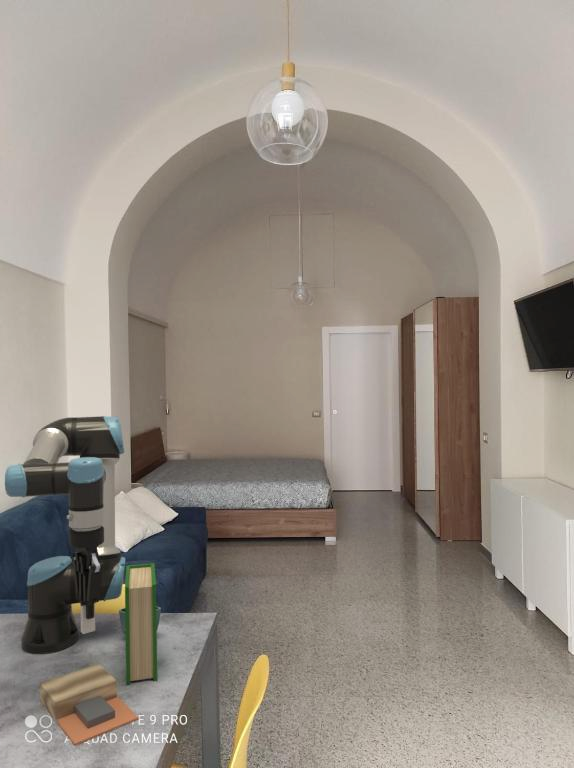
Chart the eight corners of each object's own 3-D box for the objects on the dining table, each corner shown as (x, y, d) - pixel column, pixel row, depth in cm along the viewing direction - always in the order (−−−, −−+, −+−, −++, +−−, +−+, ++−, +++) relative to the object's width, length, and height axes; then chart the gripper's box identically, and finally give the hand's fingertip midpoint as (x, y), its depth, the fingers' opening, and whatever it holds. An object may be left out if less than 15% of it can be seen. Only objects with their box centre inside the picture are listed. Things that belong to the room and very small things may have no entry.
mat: (56, 721, 125) (56, 720, 125) (117, 698, 134) (117, 696, 134) (74, 745, 117) (74, 743, 117) (138, 719, 126) (138, 717, 126)
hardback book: (157, 681, 142) (156, 584, 142) (126, 685, 140) (124, 587, 140) (155, 649, 159) (154, 563, 159) (127, 653, 157) (126, 565, 157)
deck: (39, 700, 134) (39, 683, 134) (98, 679, 143) (98, 663, 143) (55, 720, 126) (55, 702, 126) (116, 697, 135) (116, 680, 135)
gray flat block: (74, 712, 128) (74, 705, 128) (100, 702, 132) (100, 695, 132) (88, 728, 122) (88, 721, 122) (115, 717, 126) (115, 710, 126)
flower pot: (143, 630, 171) (143, 600, 171) (162, 638, 166) (161, 607, 166) (118, 641, 165) (117, 609, 165) (136, 649, 159) (136, 617, 159)
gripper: (59, 524, 132) (61, 626, 132) (80, 535, 122) (82, 646, 122) (91, 519, 137) (93, 617, 137) (114, 529, 127) (115, 635, 127)
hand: (88, 631), depth 129 cm, fingers closed
